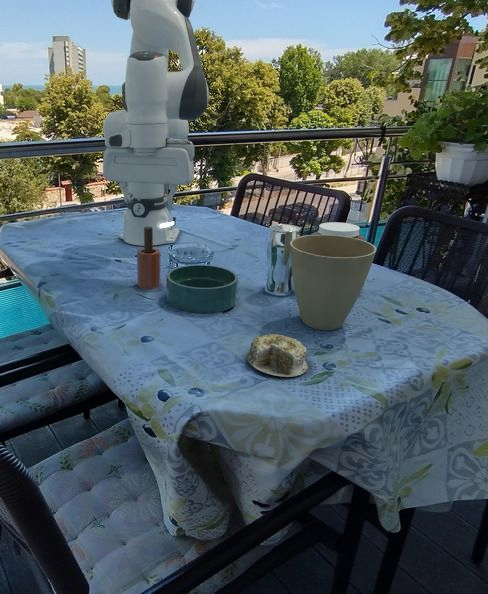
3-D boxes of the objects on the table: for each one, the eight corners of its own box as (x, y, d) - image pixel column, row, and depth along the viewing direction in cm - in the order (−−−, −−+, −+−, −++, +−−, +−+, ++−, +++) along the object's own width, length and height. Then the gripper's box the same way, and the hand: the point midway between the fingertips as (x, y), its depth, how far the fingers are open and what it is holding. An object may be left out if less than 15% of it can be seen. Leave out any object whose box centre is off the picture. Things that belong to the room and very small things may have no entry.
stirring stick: (146, 283, 112) (145, 226, 106) (154, 284, 111) (153, 226, 105) (143, 286, 110) (142, 228, 104) (151, 287, 109) (150, 228, 104)
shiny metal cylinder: (288, 299, 103) (296, 233, 97) (258, 293, 106) (264, 229, 101) (297, 289, 108) (305, 226, 103) (268, 283, 112) (274, 222, 106)
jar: (312, 277, 115) (320, 218, 109) (362, 287, 109) (373, 224, 103) (296, 292, 106) (304, 228, 101) (350, 303, 100) (361, 236, 94)
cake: (248, 348, 84) (251, 320, 82) (306, 356, 81) (311, 327, 79) (243, 372, 75) (246, 341, 73) (308, 382, 72) (313, 351, 70)
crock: (142, 282, 114) (142, 246, 111) (163, 284, 112) (163, 248, 109) (134, 289, 109) (133, 253, 106) (155, 292, 108) (155, 255, 104)
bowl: (179, 285, 112) (179, 261, 109) (242, 293, 106) (244, 269, 104) (156, 309, 99) (156, 283, 96) (227, 320, 93) (229, 292, 91)
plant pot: (292, 302, 101) (300, 231, 95) (366, 316, 94) (380, 240, 88) (272, 329, 90) (280, 249, 83) (355, 347, 82) (371, 262, 76)
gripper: (199, 137, 97) (197, 203, 102) (110, 136, 104) (113, 197, 110) (190, 140, 91) (188, 209, 97) (97, 138, 99) (101, 203, 104)
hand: (148, 203), depth 103 cm, fingers open, 8 cm apart
